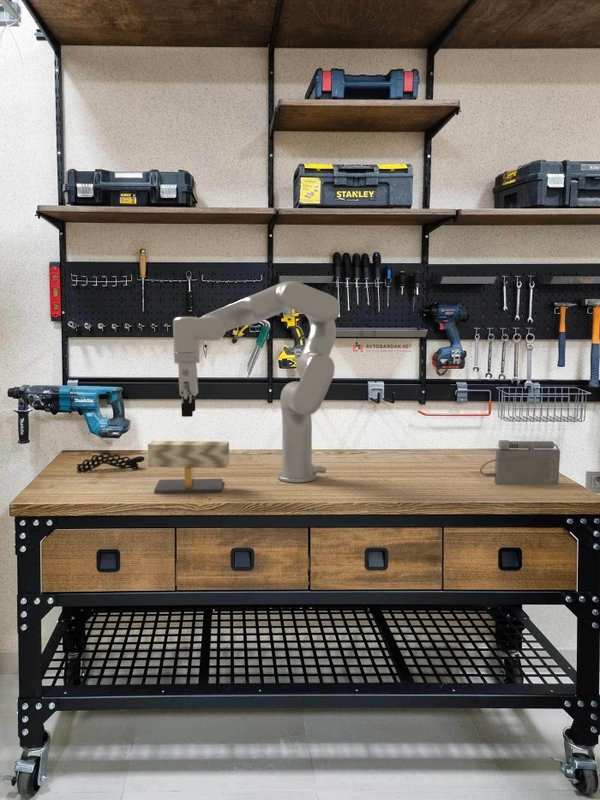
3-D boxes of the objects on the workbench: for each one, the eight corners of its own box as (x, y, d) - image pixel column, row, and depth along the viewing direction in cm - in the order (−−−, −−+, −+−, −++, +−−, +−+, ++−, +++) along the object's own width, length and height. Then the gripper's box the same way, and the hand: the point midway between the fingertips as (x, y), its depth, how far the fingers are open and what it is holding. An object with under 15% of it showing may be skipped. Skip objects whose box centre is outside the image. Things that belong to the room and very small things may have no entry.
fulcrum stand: (222, 481, 217) (222, 460, 216) (221, 492, 205) (220, 469, 204) (159, 482, 216) (159, 461, 215) (154, 493, 204) (153, 470, 203)
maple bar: (229, 463, 212) (228, 441, 211) (226, 467, 206) (226, 445, 205) (153, 462, 213) (152, 440, 212) (148, 466, 207) (147, 444, 206)
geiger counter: (556, 438, 217) (478, 438, 217) (564, 442, 211) (483, 442, 211) (554, 481, 219) (477, 481, 219) (562, 486, 212) (482, 486, 212)
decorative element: (76, 473, 228) (75, 456, 227) (77, 470, 233) (76, 453, 232) (144, 470, 233) (144, 453, 232) (144, 466, 238) (144, 450, 237)
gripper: (197, 360, 196) (198, 418, 199) (201, 355, 213) (203, 409, 216) (170, 360, 196) (173, 419, 198) (177, 355, 213) (179, 409, 215)
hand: (188, 413), depth 207 cm, fingers open, 9 cm apart
